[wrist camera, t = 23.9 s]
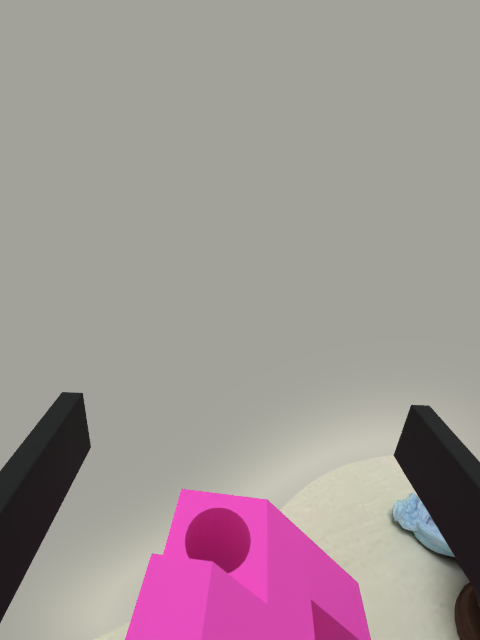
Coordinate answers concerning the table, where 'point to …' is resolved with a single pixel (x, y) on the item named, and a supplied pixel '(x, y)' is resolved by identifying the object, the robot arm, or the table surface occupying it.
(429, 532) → the figurine
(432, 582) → the table surface
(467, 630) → the black crystal ball
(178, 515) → the bracket
